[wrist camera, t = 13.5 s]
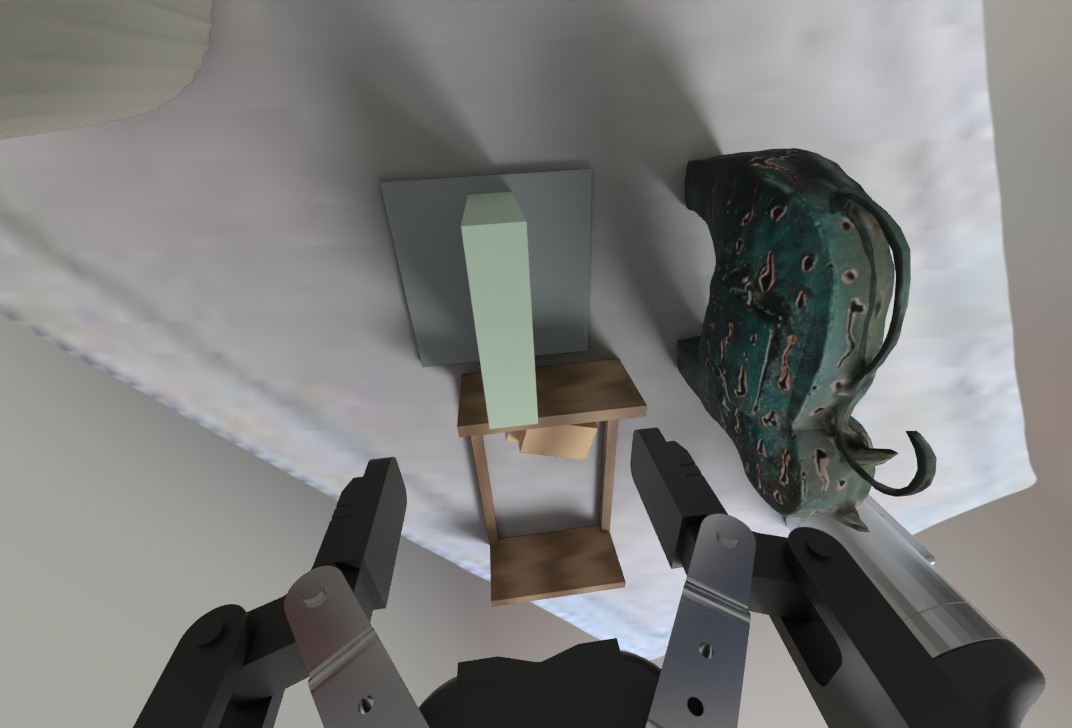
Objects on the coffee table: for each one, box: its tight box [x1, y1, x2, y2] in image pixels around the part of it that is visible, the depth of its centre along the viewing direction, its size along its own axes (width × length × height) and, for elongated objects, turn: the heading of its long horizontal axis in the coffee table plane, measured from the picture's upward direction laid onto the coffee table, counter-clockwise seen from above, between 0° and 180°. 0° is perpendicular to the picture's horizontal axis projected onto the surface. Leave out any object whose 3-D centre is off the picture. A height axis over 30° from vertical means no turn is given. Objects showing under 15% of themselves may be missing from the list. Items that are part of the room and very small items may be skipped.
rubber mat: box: [380, 168, 592, 367], centre depth 30 cm, size 14×14×1 cm
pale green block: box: [461, 192, 538, 429], centre depth 25 cm, size 3×12×10 cm, turn 3°
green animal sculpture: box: [678, 148, 936, 532], centre depth 24 cm, size 20×6×20 cm, turn 9°
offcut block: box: [505, 422, 598, 459], centre depth 36 cm, size 8×4×4 cm, turn 76°
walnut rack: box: [457, 359, 647, 606], centre depth 38 cm, size 14×24×7 cm, turn 3°
